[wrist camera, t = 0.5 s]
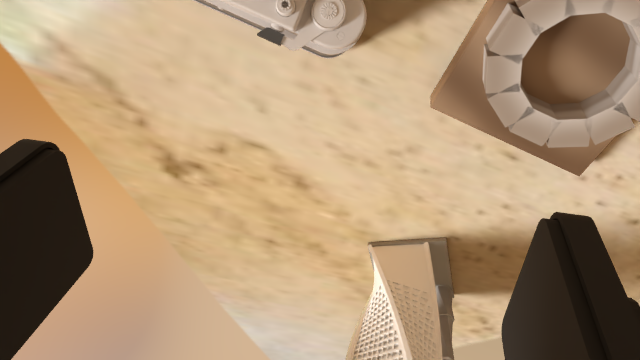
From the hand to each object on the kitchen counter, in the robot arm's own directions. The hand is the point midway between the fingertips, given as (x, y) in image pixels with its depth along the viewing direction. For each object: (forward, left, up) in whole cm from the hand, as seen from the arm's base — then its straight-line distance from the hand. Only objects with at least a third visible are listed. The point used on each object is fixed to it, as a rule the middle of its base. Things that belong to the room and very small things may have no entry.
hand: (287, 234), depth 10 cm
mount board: (-3, +13, -27) cm, 30 cm away
